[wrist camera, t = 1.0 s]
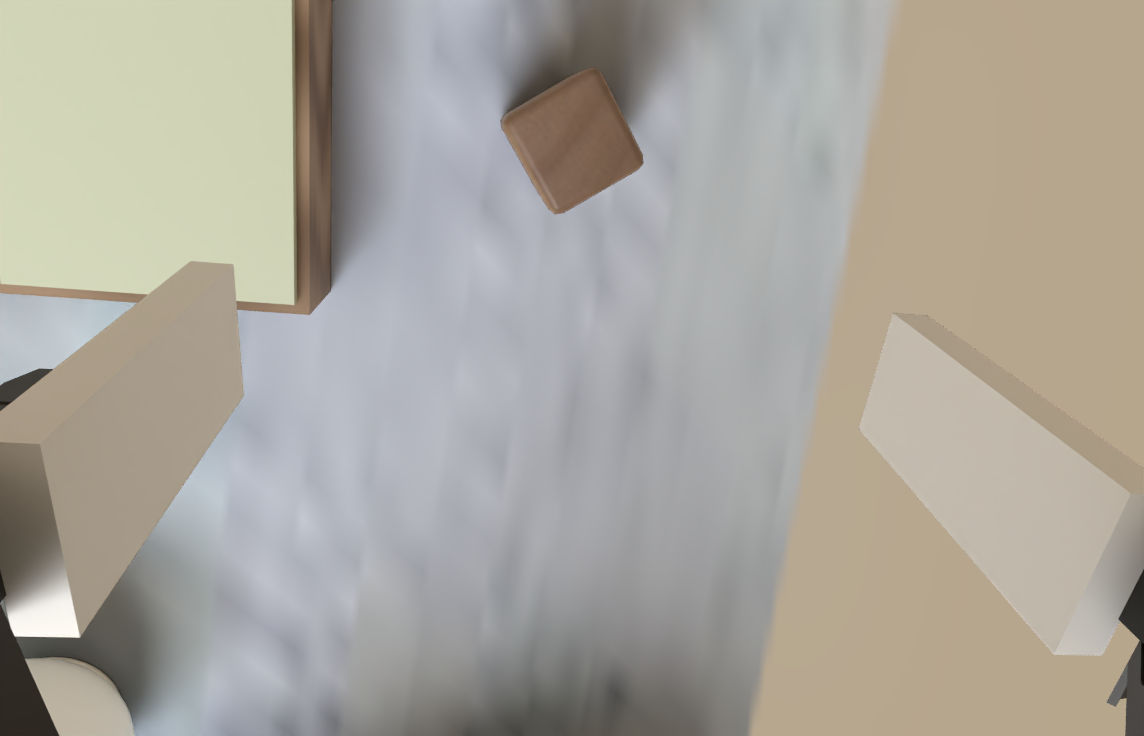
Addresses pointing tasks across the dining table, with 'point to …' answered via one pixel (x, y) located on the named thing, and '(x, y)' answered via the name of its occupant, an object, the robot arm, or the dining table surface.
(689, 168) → the dining table surface
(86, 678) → the lidded jar
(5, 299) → the dining table surface
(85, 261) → the walnut stand
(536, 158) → the wooden block
